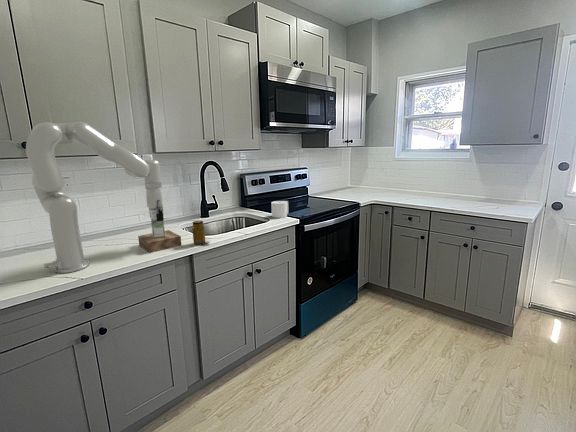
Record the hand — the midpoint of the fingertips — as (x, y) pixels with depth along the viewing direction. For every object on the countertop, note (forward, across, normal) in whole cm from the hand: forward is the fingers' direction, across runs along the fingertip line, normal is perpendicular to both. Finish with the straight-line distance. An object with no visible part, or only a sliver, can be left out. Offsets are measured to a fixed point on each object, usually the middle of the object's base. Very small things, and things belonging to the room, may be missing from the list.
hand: (156, 219), depth 162 cm
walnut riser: (+14, 0, 0) cm, 14 cm away
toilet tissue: (+13, -7, +86) cm, 88 cm away
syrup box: (+9, 0, 0) cm, 9 cm away
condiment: (+14, +12, +17) cm, 25 cm away
